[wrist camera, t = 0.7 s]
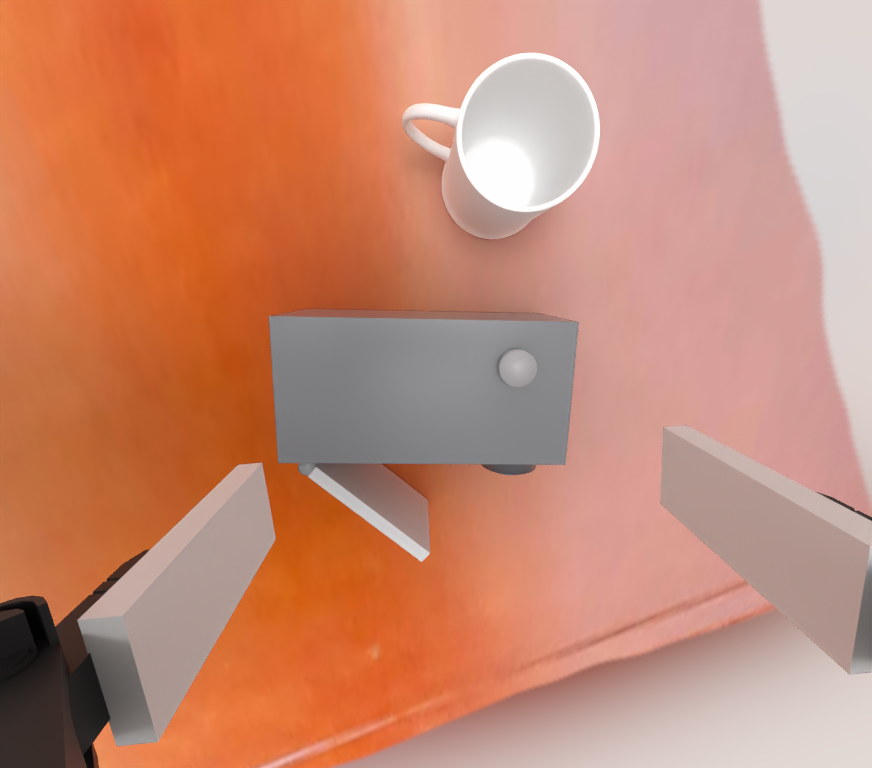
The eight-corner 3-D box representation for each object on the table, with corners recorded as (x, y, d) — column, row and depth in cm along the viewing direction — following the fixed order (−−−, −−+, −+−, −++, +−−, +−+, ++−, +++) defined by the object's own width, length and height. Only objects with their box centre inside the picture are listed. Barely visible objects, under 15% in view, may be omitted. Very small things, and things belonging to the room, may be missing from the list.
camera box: (314, 439, 40) (275, 496, 29) (308, 308, 37) (263, 317, 26) (528, 441, 40) (567, 496, 30) (537, 313, 38) (584, 323, 27)
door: (315, 437, 40) (287, 477, 31) (329, 421, 39) (304, 456, 31) (414, 514, 42) (413, 570, 33) (428, 499, 41) (430, 552, 33)
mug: (388, 194, 35) (372, 147, 24) (431, 88, 34) (437, -18, 22) (515, 256, 37) (559, 242, 25) (562, 158, 35) (633, 93, 23)
